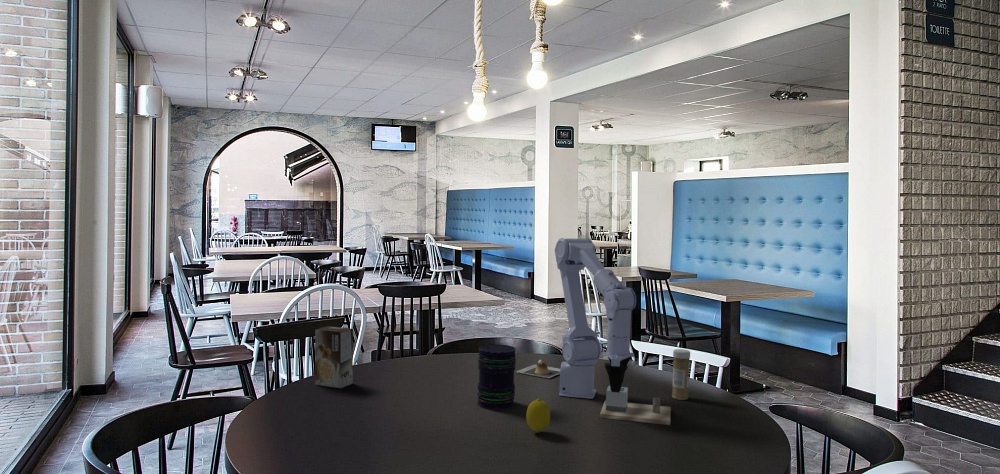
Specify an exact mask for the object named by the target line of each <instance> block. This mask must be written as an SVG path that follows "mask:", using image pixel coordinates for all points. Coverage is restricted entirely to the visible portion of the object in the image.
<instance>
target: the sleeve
mask: <svg viewBox="0 0 1000 474" xmlns="http://www.w3.org/2000/svg"><path fill="white" fill-rule="evenodd" d="M628 392H629V388H628V387H627V386H625V387H624V386H621V389H620V392H619V393H618V392H611V388H610V385H608V386H607V388H606V394H605V395H606V397H605V400H606V410H609V411H619V412H626V409H627V403H628V399H629V398H628V396H629V393H628Z"/></svg>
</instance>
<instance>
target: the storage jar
mask: <svg viewBox="0 0 1000 474" xmlns="http://www.w3.org/2000/svg"><path fill="white" fill-rule="evenodd" d="M516 359H517V358H516V347H515V346H513V345H509V344H500V343H499V344H498V343H497V344H494V343H492V344H482V345H480V346H479V347H478V358H477V361H478V362H477V363H478V365H477V368H478V376H479V377H478V383H477V406H478V408H479V407H480V408H481V409H485V410H490V411H491V410H492V411H503V410H504V411H505V410H508V409H512V408H513V407H514V406H515V401H514V400H515V394H516V393H515V392H516V391H515V389H516V384H515V381H514V380H515V371H516V363H517V361H516Z"/></svg>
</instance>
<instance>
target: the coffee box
mask: <svg viewBox="0 0 1000 474" xmlns="http://www.w3.org/2000/svg"><path fill="white" fill-rule="evenodd" d="M314 335H315V336H314V337H315V339H314V340H315V345H314V346H315V347H314V348H315V351H314V352H315V353H314V356H315V359H314V361H315V363H314V364H315V365H314V368H315V369H314V370H315V371H314V372H315V374H314V375H315V378H314V379H315V380H314V381H315V382H314V385H316V386H320V387H321V386H322V387H328V388H338V389H343V388H345V387H347V386H350V385H352V384H353V383H354V382H353V381H354V380H353V377H354V376H353V373H354V372H353V371H354V370H353V369H354V368H353V361H354V360H353V359H354V357H353V355H354V351H353V350H354V328H349V327H340V326H330V325H327V326H323V327H320V328H317V329H315V333H314Z"/></svg>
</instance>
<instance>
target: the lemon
mask: <svg viewBox="0 0 1000 474" xmlns="http://www.w3.org/2000/svg"><path fill="white" fill-rule="evenodd" d="M526 409H527V410H526V416H525V417H526V423H527V425H528V427H529V428H530V429H532V430H534V432H536V433H537V434H539V433H541V431H544V430H545V429H546V428H548V426H549V425H550V422H551V409H550V407H549V404H547V402H546V401H544V400H542V399H541V398H537V399H535V400H533V401H531V402H530V403H529V405H528V407H527V408H526Z"/></svg>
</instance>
